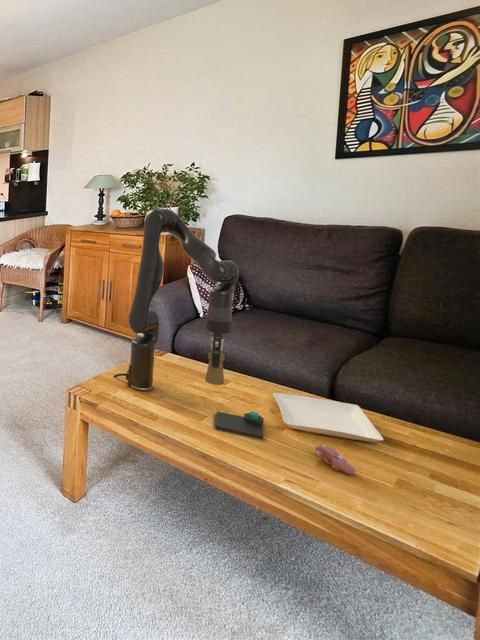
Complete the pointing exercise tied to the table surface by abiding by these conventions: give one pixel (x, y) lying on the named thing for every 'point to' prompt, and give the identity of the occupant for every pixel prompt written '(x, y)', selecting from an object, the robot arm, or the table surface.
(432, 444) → the table surface
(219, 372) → the cork
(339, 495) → the table surface
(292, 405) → the square plate
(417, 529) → the table surface
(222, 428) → the scale
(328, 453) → the pink tapered lump
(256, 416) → the button
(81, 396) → the table surface
